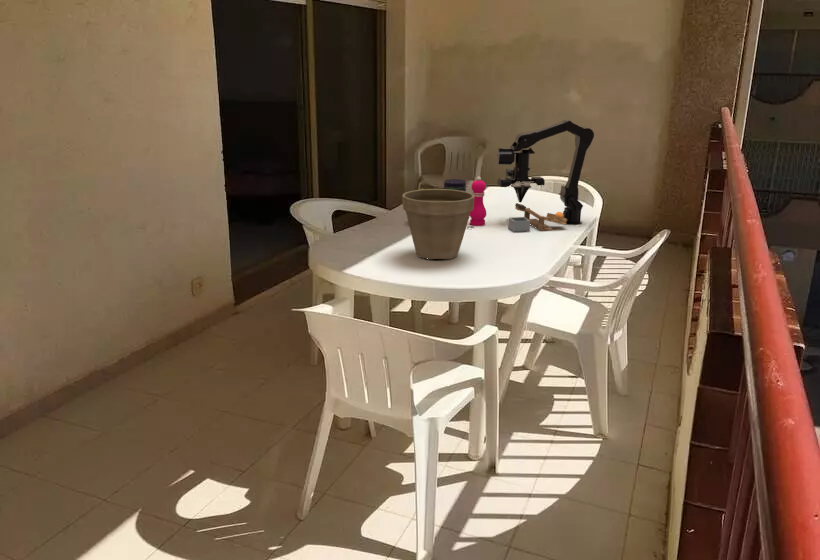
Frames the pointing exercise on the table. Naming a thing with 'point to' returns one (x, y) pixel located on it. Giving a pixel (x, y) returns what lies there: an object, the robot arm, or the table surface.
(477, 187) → the pepper mill
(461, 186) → the storage jar
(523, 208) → the catapult lever
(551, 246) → the table surface
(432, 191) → the plant pot
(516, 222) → the grey open box
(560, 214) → the ball
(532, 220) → the frame
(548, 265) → the table surface
